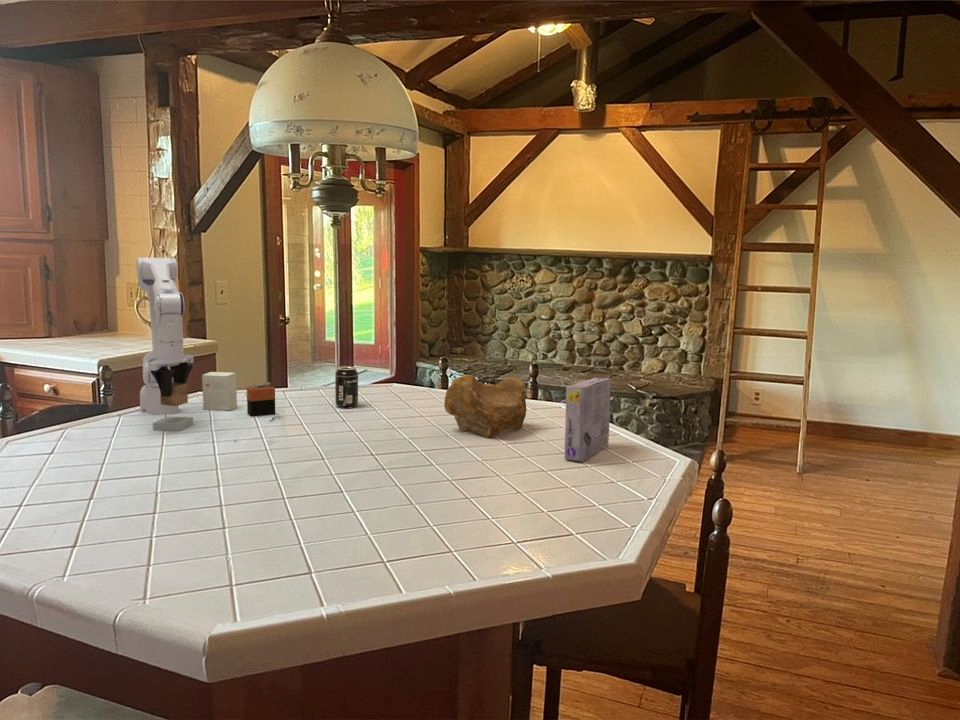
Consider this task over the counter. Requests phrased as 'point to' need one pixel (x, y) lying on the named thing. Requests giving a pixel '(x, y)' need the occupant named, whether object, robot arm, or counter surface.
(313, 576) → the counter surface
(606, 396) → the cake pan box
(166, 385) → the robot arm
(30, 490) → the counter surface
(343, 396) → the beverage can
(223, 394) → the small box
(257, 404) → the battery
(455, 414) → the rough brown rock
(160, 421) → the gray slab
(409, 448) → the counter surface
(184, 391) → the walnut block
